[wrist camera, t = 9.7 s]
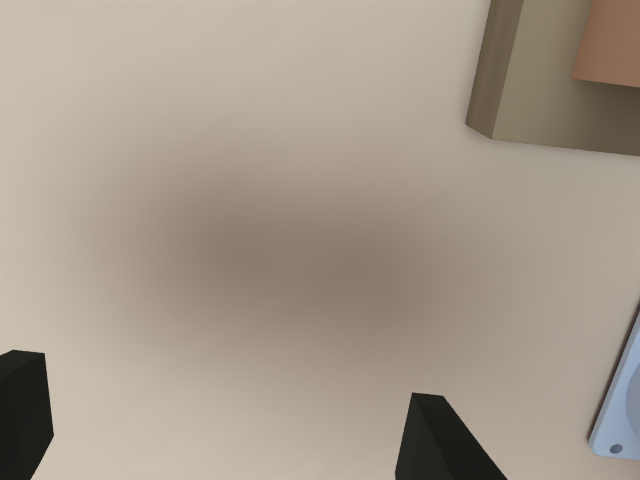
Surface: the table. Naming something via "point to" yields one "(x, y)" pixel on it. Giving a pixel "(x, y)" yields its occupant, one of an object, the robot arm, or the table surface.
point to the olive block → (547, 83)
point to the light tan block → (610, 44)
